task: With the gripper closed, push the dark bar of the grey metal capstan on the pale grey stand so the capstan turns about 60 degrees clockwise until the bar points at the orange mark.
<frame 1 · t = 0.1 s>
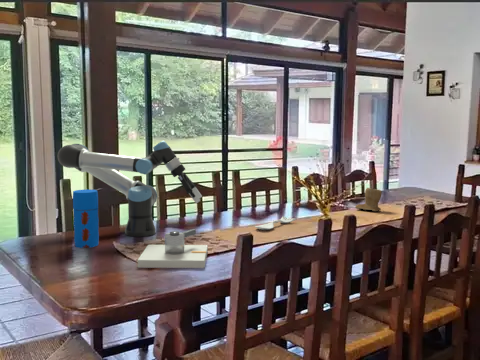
hand: (199, 199, 261), 15 cm above the table, tool tilted 35°, fingers open, 13 cm apart
capstan: (181, 239, 207), point 7 cm above the table, hinge at 0.0°
spoon: (274, 227, 270), on the table
stand: (174, 259, 204), on the table
thermos: (86, 245, 225), on the table
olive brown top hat: (369, 210, 321), on the table
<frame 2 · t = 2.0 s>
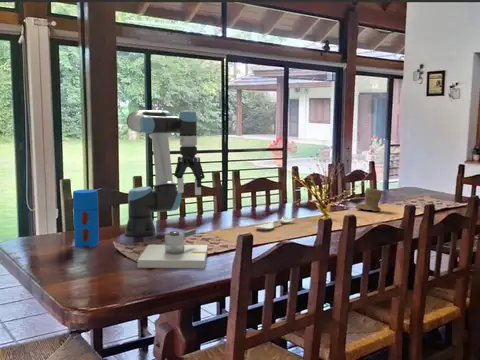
hand: (189, 193, 219), 25 cm above the table, tool pointing down, fingers open, 13 cm apart
nothing on the table moved.
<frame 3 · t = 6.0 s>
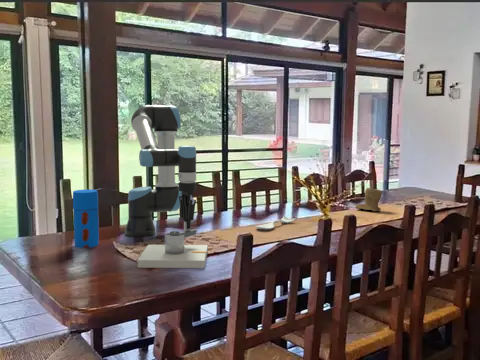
hand: (187, 235, 214), 8 cm above the table, tool pointing down, fingers closed
capstan: (182, 239, 207), point 7 cm above the table, hinge at -1.6°, touching gripper
everything else where it was.
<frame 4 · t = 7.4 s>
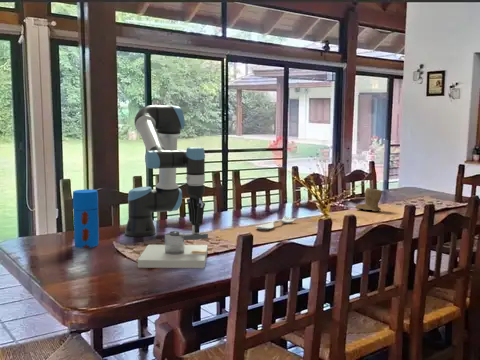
hand: (195, 239, 208), 7 cm above the table, tool pointing down, fingers closed
capstan: (186, 241, 205), point 7 cm above the table, hinge at -42.1°, touching gripper
everything else where it was.
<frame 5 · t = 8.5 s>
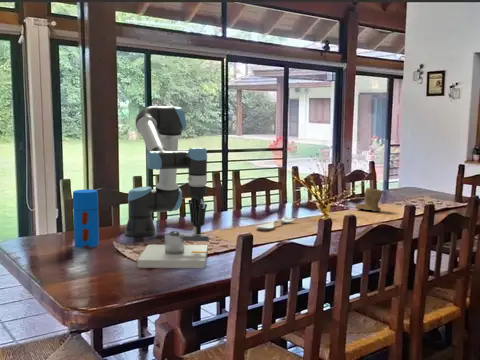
hand: (197, 241, 205), 7 cm above the table, tool pointing down, fingers closed
capstan: (186, 242, 203), point 7 cm above the table, hinge at -60.9°, touching gripper
everything else where it was.
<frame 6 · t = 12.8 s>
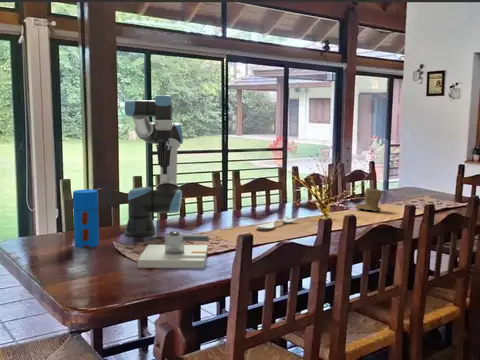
hand: (163, 181, 226), 29 cm above the table, tool pointing down, fingers closed
capstan: (186, 242, 203), point 7 cm above the table, hinge at -61.0°
at the end: capstan at -61° (first picture: +0°) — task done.
